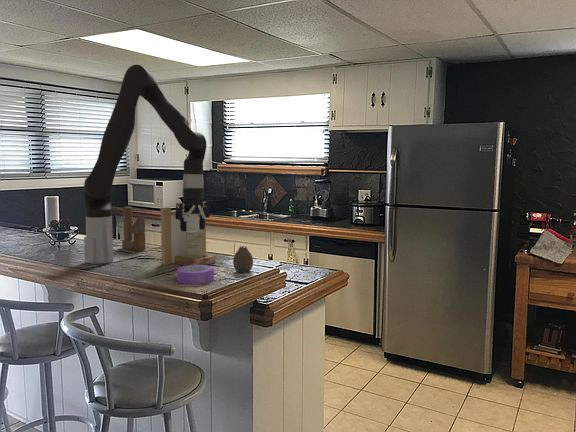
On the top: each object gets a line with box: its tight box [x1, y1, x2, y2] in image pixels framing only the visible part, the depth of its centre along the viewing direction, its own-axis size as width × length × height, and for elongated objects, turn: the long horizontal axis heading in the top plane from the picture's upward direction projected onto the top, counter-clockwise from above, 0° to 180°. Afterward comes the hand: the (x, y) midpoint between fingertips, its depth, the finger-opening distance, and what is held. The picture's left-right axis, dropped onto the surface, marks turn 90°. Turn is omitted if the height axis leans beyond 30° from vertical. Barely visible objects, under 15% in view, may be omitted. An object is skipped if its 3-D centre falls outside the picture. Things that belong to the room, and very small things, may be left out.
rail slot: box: [174, 253, 216, 266], centre depth 186 cm, size 10×11×2 cm
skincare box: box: [186, 229, 203, 259], centre depth 186 cm, size 6×4×12 cm
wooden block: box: [121, 206, 146, 251], centre depth 213 cm, size 4×11×18 cm, turn 58°
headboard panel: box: [160, 206, 207, 266], centre depth 189 cm, size 20×3×21 cm, turn 141°
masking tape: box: [176, 264, 215, 285], centre depth 160 cm, size 12×12×4 cm
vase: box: [232, 245, 254, 273], centre depth 172 cm, size 7×7×9 cm
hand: (192, 230), depth 184 cm, fingers open, 8 cm apart
